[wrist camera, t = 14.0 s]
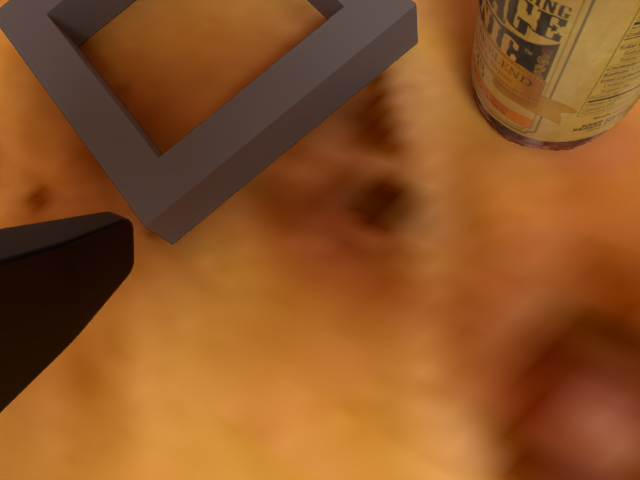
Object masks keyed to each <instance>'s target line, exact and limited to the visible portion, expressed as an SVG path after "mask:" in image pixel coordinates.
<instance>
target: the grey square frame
mask: <svg viewBox="0 0 640 480" xmlns="http://www.w3.org/2000/svg"><path fill="white" fill-rule="evenodd" d="M134 1H136V0H9V1H8V2H7V3H6V4H4V5H3V6H2V7H1V8H0V28H1V29H2V31H3V32H4V34H5V35H6V36H7V38H8V39H9V40H10V42H11V43H12V45H13V46H14V47H15V49H16V50H17V51H18V53H19V54H20V56H21V57H22V58H23V60H24V61H25V62H26V64H27V65H28V67H29V68H30V69H31V71H32V72H33V73H34V75H35V76H36V78H37V79H38V80H39V82H40V83H41V84H42V86H43V87H44V89H45V90H46V91H47V93H48V94H49V96H50V97H51V98H52V100H53V101H54V102H55V104H56V105H57V107H58V108H59V109H60V111H61V112H62V113H63V115H64V116H65V118H66V119H67V120H68V122H69V123H70V124H71V126H72V127H73V129H74V130H75V131H76V133H77V134H78V135H79V137H80V138H81V140H82V141H83V142H84V144H85V145H86V146H87V148H88V149H89V151H90V152H91V153H92V155H93V156H94V157H95V159H96V160H97V162H98V163H99V164H100V166H101V167H102V168H103V170H104V171H105V173H106V174H107V175H108V177H109V178H110V179H111V181H112V182H113V184H114V185H115V186H116V188H117V189H118V190H119V192H120V193H121V195H122V196H123V197H124V199H125V200H126V201H127V203H128V204H129V206H130V207H131V208H132V210H133V211H134V212H135V214H136V215H137V217H138V218H139V219H140V221H141V222H142V223H143V225H144V226H145V227H146V228H147V229H149V230H151V231H152V232H154V233H155V234H157V235H159V236H160V237H162V238H163V239H165V240H166V241H168V242H170V243H171V244H174V243H175V242H176V241H177V240H178V239H180V238H181V237H182V236H183V235H185V234H186V233H187V232H188V231H189V230H191V229H192V228H193V227H194V226H195V225H197V224H198V223H199V222H200V221H202V220H203V219H204V218H205V217H206V216H208V215H209V214H210V213H211V212H213V211H214V210H215V209H216V208H217V207H219V206H220V205H221V204H222V203H223V202H225V201H226V200H227V199H228V198H230V197H231V196H232V195H233V194H234V193H236V192H237V191H238V190H239V189H240V188H242V187H243V186H244V185H245V184H247V183H248V182H249V181H250V180H251V179H253V178H254V177H255V176H256V175H257V174H259V173H260V172H261V171H262V170H264V169H265V168H266V167H267V166H268V165H270V164H271V163H272V162H273V161H275V160H276V159H277V158H278V157H279V156H281V155H282V154H283V153H284V152H285V151H287V150H288V149H289V148H290V147H292V146H293V145H294V144H295V143H296V142H298V141H299V140H300V139H301V138H302V137H304V136H305V135H306V134H307V133H309V132H310V131H311V130H312V129H313V128H315V127H316V126H317V125H318V124H319V123H321V122H322V121H323V120H324V119H326V118H327V117H328V116H329V115H330V114H332V113H333V112H334V111H335V110H336V109H338V108H339V107H340V106H341V105H343V104H344V103H345V102H346V101H347V100H349V99H350V98H351V97H352V96H354V95H355V94H356V93H357V92H358V91H360V90H361V89H362V88H363V87H364V86H366V85H367V84H368V83H369V82H371V81H372V80H373V79H374V78H375V77H377V76H378V75H379V74H380V73H381V72H383V71H384V70H385V69H386V68H388V67H389V66H390V65H391V64H392V63H394V62H395V61H396V60H397V59H398V58H400V57H401V56H402V55H403V54H405V53H406V52H407V51H408V50H409V49H411V48H412V47H413V46H414V45H416V44H417V43H418V35H417V11H416V4H415V3H414V2H413V1H412V0H308V1H309V2H310V3H311V4H312V5H313V6H314V7H315V8H316V9H317V10H318V11H319V12H321V13H322V14H323V15H324V16H325V17H326V18H327V19H328V20H327V21H326V22H325V23H323V24H322V25H321V26H320V27H318V28H317V29H316V30H315V31H314V32H312V33H311V34H310V35H309V36H307V37H306V38H305V39H304V40H302V41H301V42H300V43H299V44H298V45H296V46H295V47H294V48H293V49H291V50H290V51H289V52H288V53H287V54H285V55H284V56H283V57H282V58H280V59H279V60H278V61H277V62H275V63H274V64H273V65H272V66H271V67H269V68H268V69H267V70H266V71H264V72H263V73H262V74H261V75H260V76H258V77H257V78H256V79H255V80H253V81H252V82H251V83H250V84H248V85H247V86H246V87H245V88H244V89H242V90H241V91H240V92H239V93H237V94H236V95H235V96H234V97H233V98H231V99H230V100H229V101H228V102H226V103H225V104H224V105H223V106H221V107H220V108H219V109H218V110H217V111H215V112H214V113H213V114H212V115H210V116H209V117H208V118H207V119H206V120H204V121H203V122H202V123H201V124H199V125H198V126H197V127H196V128H194V129H193V130H192V131H191V132H190V133H188V134H187V135H186V136H185V137H183V138H182V139H181V140H180V141H179V142H177V143H176V144H175V145H174V146H172V147H171V148H170V149H169V150H167V151H166V152H165V153H164V154H162V153H161V152H160V150H159V149H158V148H157V146H156V145H155V144H154V143H153V141H152V140H151V139H150V137H149V136H148V135H147V134H146V132H145V131H144V130H143V129H142V127H141V126H140V125H139V123H138V122H137V121H136V120H135V118H134V117H133V116H132V115H131V113H130V112H129V111H128V109H127V108H126V107H125V106H124V104H123V103H122V102H121V101H120V99H119V98H118V97H117V95H116V94H115V93H114V92H113V90H112V89H111V88H110V87H109V85H108V84H107V83H106V81H105V80H104V79H103V78H102V76H101V75H100V74H99V72H98V71H97V70H96V69H95V67H94V66H93V65H92V64H91V62H90V61H89V60H88V58H87V57H86V56H85V55H84V53H83V52H82V51H81V50H80V48H79V47H78V46H79V45H81V44H82V43H83V42H84V41H86V40H87V39H88V38H89V37H91V36H92V35H93V34H94V33H96V32H97V31H98V30H99V29H101V28H102V27H103V26H104V25H106V24H107V23H108V22H109V21H111V20H112V19H113V18H114V17H116V16H117V15H118V14H119V13H121V12H122V11H123V10H124V9H126V8H127V7H128V6H129V5H131V4H132V3H133V2H134Z"/></svg>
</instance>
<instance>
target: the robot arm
mask: <svg viewBox="0 0 640 480" xmlns="http://www.w3.org/2000/svg"><path fill="white" fill-rule="evenodd" d="M133 264H134V235H133V225H132V223H131V221H130V220H129V219H127V218H125V217H122V216H120V215H117V214H115V213H112V212H102V213H96V214H89V215H83V216H77V217H71V218H65V219H59V220H53V221H47V222H41V223H34V224H28V225H22V226H16V227H10V228H4V229H0V412H1V411H3V410H4V409H5V408H6V407H7V406H8V405H9V404H10V403H11V402H12V401H13V400H14V399H15V398H16V397H17V396H18V395H19V394H20V393H21V392H22V391H23V390H24V389H25V388H26V387H27V386H28V385H29V384H30V383H31V382H32V381H33V380H34V379H35V378H36V377H37V376H38V375H39V374H40V373H41V372H42V371H43V370H44V369H45V368H47V367H48V366H49V365H50V364H51V363H52V362H53V361H54V360H55V359H56V358H57V357H58V356H59V355H60V354H61V353H62V352H63V351H64V350H65V349H66V348H67V347H68V346H69V345H70V344H71V343H72V342H73V341H74V339H75V338H76V337H77V336H78V335H79V334H80V333H81V332H82V330H83V329H84V328H85V327H86V326H87V324H88V323H89V322H90V321H91V320H92V318H93V317H94V316H95V315H96V314H97V312H98V311H99V310H100V309H101V308H102V306H103V305H104V304H105V303H106V302H107V300H108V299H109V298H110V297H111V296H112V294H113V293H114V292H115V291H116V290H117V288H118V287H119V286H120V285H121V284H122V282H123V281H124V280H125V279H126V278H127V276H128V275H129V274H130V272H131V270H132V268H133Z"/></svg>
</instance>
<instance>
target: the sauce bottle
mask: <svg viewBox="0 0 640 480" xmlns="http://www.w3.org/2000/svg"><path fill="white" fill-rule="evenodd" d="M471 74H472V80H473V84H474V85H473V91H474V97H475V100H476V102H477V104H478V106H479V108H480V109H481V111H482V113H483V114H484V116H485V117H486V119H488V121H489V122H490V123H491V125H492V127H494V128H496V129H497V130H498V132H500V134H502V135H503V136H504V137H505V138H506V139H508V140H509V141H512V142H515V143H517V144H520V145H521V146H527V147H534V148H541V149H549V150H555V151H558V150H569V149H573V148H575V147H577V146H580V145H583V144H585V143H587V142H591V141H592V140H593V139H595V138H597V137H598V136H600V135H601V134H602V133H604V132H606V131H607V130H609V129H610V128H611V127H613V126H614V125H615V124H616V123H618V122H619V121H620V120H621V119H622V118H623V117H624V116H625V115H626V114H627V113H628V112H629V111H630V110H631V109H632V107H633V106H634V105H635V103H636V102H637V101H638V99H639V98H640V0H479V2H478V10H477V18H476V26H475V34H474V42H473V49H472V58H471Z"/></svg>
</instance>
